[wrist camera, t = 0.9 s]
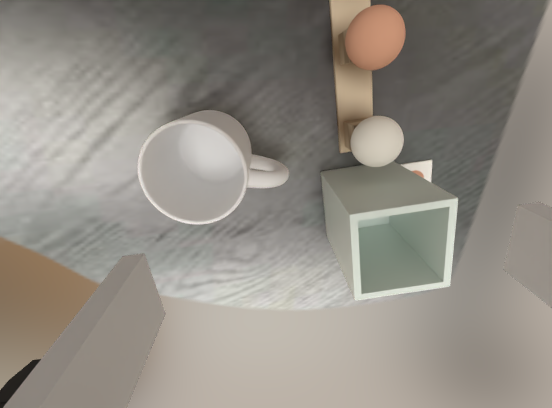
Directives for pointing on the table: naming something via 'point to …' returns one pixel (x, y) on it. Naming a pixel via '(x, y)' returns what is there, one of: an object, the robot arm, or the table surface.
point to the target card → (420, 168)
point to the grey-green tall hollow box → (389, 229)
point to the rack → (348, 74)
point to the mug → (203, 167)
